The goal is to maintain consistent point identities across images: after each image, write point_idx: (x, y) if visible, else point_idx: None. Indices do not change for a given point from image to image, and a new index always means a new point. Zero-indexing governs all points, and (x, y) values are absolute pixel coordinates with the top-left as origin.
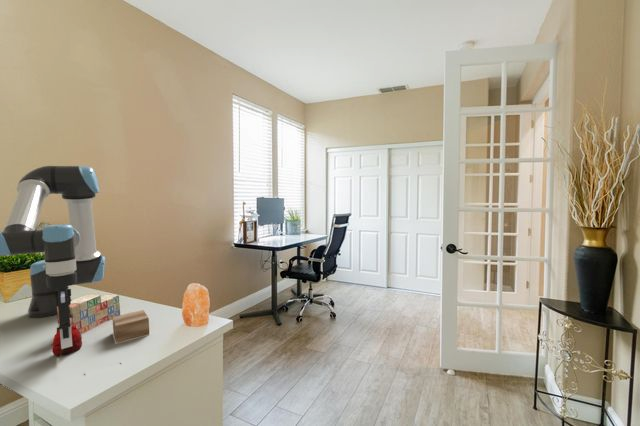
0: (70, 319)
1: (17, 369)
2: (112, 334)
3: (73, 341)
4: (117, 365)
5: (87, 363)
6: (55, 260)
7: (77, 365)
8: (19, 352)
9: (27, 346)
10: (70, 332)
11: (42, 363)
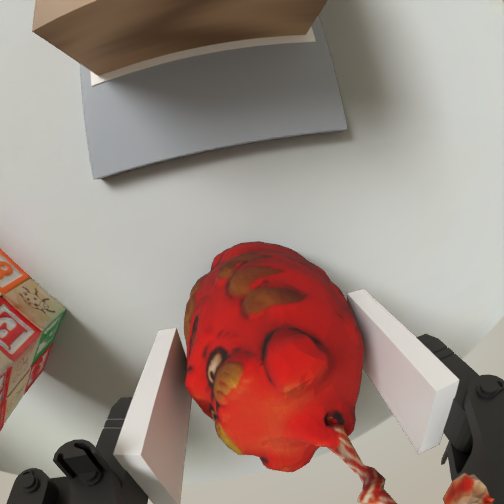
0: (143, 452)
1: None
2: (121, 75)
3: (344, 297)
4: (497, 78)
5: (445, 181)
6: None
7: (441, 223)
8: None
9: None
10: (420, 349)
11: None
